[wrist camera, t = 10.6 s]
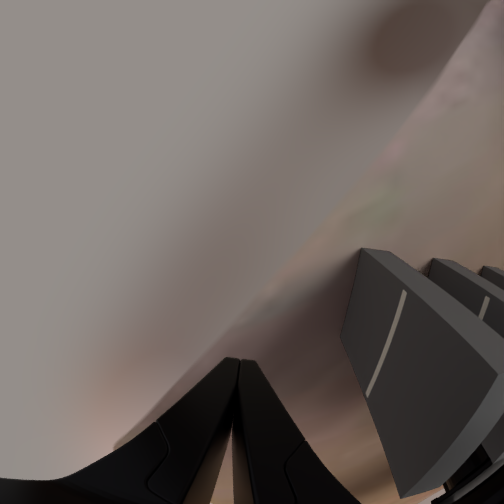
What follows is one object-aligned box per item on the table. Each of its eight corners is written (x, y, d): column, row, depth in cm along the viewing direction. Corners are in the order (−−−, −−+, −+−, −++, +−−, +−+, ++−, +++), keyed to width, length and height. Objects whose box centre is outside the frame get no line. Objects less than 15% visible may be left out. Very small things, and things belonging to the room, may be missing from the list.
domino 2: (428, 338, 14) (514, 451, 5) (408, 338, 14) (493, 463, 5) (453, 261, 13) (582, 346, 3) (432, 257, 13) (568, 351, 3)
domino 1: (366, 337, 14) (440, 486, 5) (339, 336, 14) (399, 498, 5) (390, 251, 13) (532, 365, 3) (360, 247, 13) (497, 374, 4)
